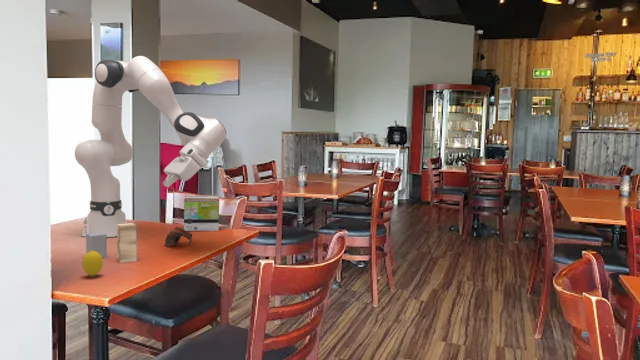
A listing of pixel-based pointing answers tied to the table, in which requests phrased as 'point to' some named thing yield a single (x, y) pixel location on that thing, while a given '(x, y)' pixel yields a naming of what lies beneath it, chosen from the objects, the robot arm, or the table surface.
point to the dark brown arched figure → (177, 236)
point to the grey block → (97, 243)
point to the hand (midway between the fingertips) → (165, 185)
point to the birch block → (126, 242)
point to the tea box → (201, 213)
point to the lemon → (92, 263)
